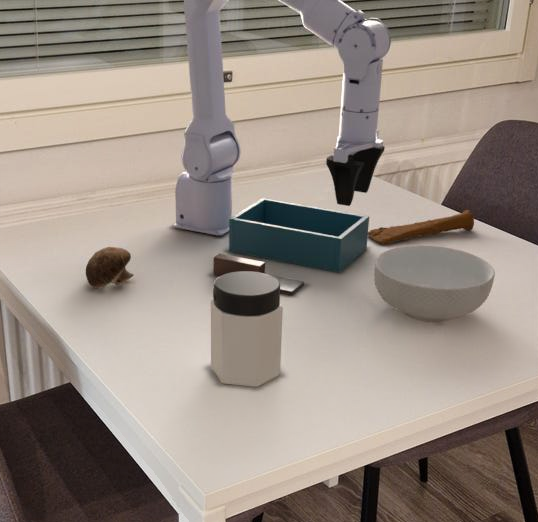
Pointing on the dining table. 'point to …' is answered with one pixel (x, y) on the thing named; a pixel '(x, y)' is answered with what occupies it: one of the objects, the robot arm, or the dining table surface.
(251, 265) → the scraper
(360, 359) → the dining table surface
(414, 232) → the primitive tool
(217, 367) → the jar
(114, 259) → the mushroom
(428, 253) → the cereal bowl
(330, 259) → the bin
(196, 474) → the dining table surface
